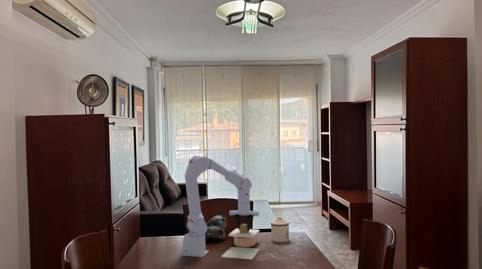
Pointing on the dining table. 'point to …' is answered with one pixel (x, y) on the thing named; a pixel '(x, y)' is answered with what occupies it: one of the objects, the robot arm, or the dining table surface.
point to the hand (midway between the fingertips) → (244, 230)
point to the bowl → (244, 241)
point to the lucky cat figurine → (216, 227)
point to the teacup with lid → (280, 230)
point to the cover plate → (250, 234)
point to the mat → (240, 253)
